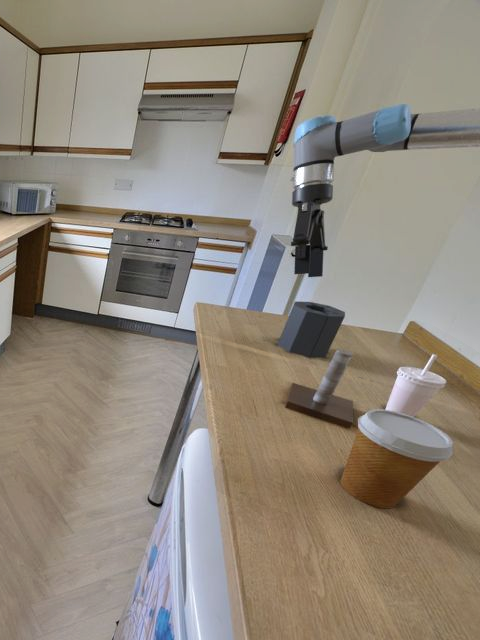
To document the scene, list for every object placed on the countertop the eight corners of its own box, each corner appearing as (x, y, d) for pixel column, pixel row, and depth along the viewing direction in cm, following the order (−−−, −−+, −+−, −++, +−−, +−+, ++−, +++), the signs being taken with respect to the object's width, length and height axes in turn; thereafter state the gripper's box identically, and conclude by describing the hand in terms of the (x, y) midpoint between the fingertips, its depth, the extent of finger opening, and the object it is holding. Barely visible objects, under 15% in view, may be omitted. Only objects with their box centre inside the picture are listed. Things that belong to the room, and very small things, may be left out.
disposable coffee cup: (423, 505, 59) (471, 439, 54) (391, 527, 55) (439, 458, 50) (346, 463, 67) (381, 401, 62) (313, 479, 63) (348, 415, 58)
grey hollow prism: (324, 352, 106) (345, 308, 101) (323, 365, 99) (344, 319, 94) (278, 340, 112) (296, 298, 107) (274, 351, 105) (292, 308, 100)
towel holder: (349, 407, 82) (379, 352, 77) (349, 429, 76) (382, 370, 70) (289, 388, 88) (313, 336, 83) (284, 407, 81) (310, 351, 76)
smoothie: (373, 416, 80) (410, 352, 74) (375, 404, 84) (410, 342, 78) (419, 431, 76) (462, 365, 70) (419, 418, 80) (459, 354, 74)
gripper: (305, 199, 110) (302, 279, 111) (278, 180, 94) (275, 273, 95) (342, 192, 104) (339, 276, 105) (321, 171, 88) (317, 270, 89)
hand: (308, 275), depth 100 cm, fingers open, 13 cm apart
